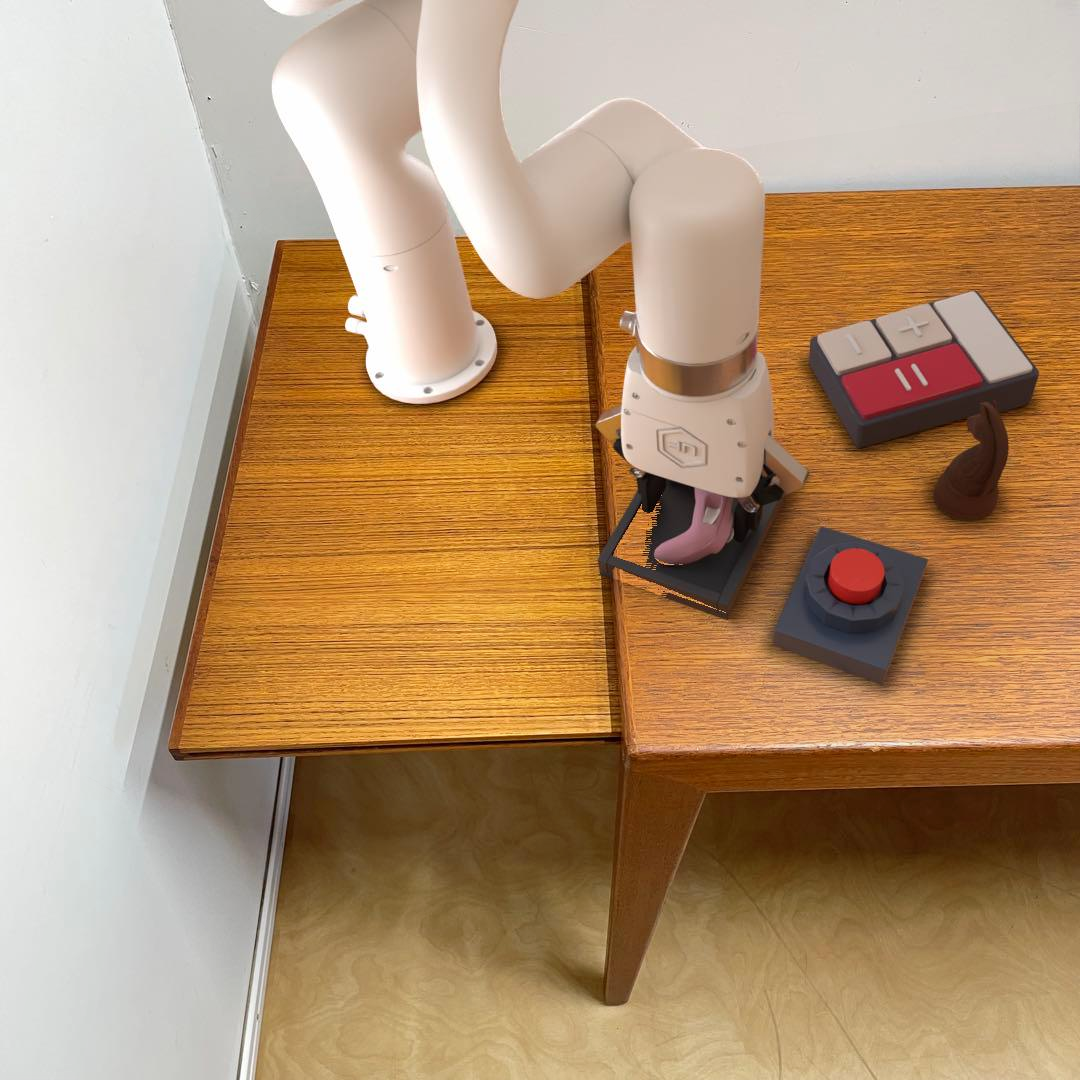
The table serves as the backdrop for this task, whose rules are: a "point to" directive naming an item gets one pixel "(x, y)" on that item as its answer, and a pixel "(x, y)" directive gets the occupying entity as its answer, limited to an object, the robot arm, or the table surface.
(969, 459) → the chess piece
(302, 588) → the table surface
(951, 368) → the calculator
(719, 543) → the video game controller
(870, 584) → the button
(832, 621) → the button base
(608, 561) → the tray
